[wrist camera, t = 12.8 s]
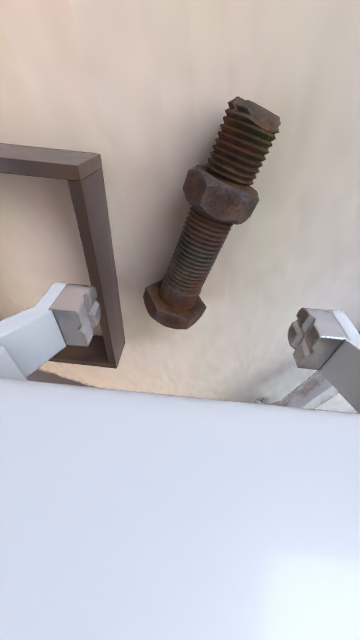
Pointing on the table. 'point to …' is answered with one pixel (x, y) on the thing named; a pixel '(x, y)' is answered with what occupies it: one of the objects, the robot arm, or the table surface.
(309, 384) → the wrench
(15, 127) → the table surface
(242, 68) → the table surface
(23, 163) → the rectangular frame
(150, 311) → the bolt
